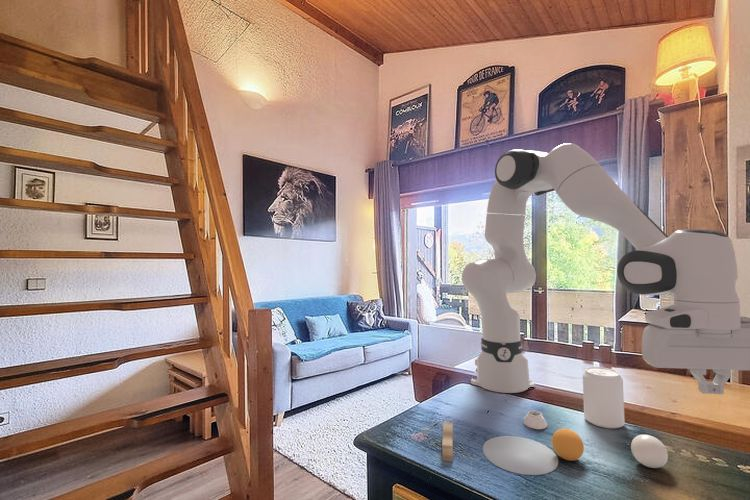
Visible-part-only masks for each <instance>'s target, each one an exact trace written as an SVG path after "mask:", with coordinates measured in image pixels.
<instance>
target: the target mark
mask: <svg viewBox="0 0 750 500" xmlns="http://www.w3.org/2000/svg"><path fill="white" fill-rule="evenodd" d="M482 452H483V455H484V457H485V458H486V459H487V460H488V461H489V463H491V464H493V465H494V466H495V467H498V468H500V469H503V470H504V471H508V472H510V473H514V474H517V475H526V476H540V475H546V474H549V473H551V472H553V471H554V470H556V469H557V468H558V466H559V458H558V456H557V453H556V452H555V451H553V450H552V449H551V448H549V447H548V446H546V445H544V444H543V443H541V442H539V441H537V440H533V439H531V438H528V437H527V438H526V437H521V436H514V435H513V436H512V435H500V436H495V437H493V438H492V437H491V438H490V439H488V440H487V441H485V442H484V444H483V445H482Z"/></svg>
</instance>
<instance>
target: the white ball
mask: <svg viewBox="0 0 750 500" xmlns="http://www.w3.org/2000/svg"><path fill="white" fill-rule="evenodd" d="M630 449H631V453H632V455H633V457H634V458H635V460H637V462H639V464H641V465H642V466H644V467H647V468H652V469H659V468H662V467H664V466H665V465H666V464H667V462H668V459H669V454H668V450H667V448H666V446H665V445H664V443H663V442H662V441H661V440H660V439H658V438H657V437H655V436H652V435H649V434H638V435H636V436H635V437H634V438H632V441H631V444H630Z"/></svg>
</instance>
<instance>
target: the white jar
mask: <svg viewBox="0 0 750 500" xmlns="http://www.w3.org/2000/svg"><path fill="white" fill-rule="evenodd" d="M523 424H524V426H526V427H528V428H530V429H533V430H544V429H546V428H547V427H548V423H547V421H546V419H545V417H544V416H543V413H542V412H541V411H538V410H529V411H527V414H526V415H525V417H524V419H523Z"/></svg>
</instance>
